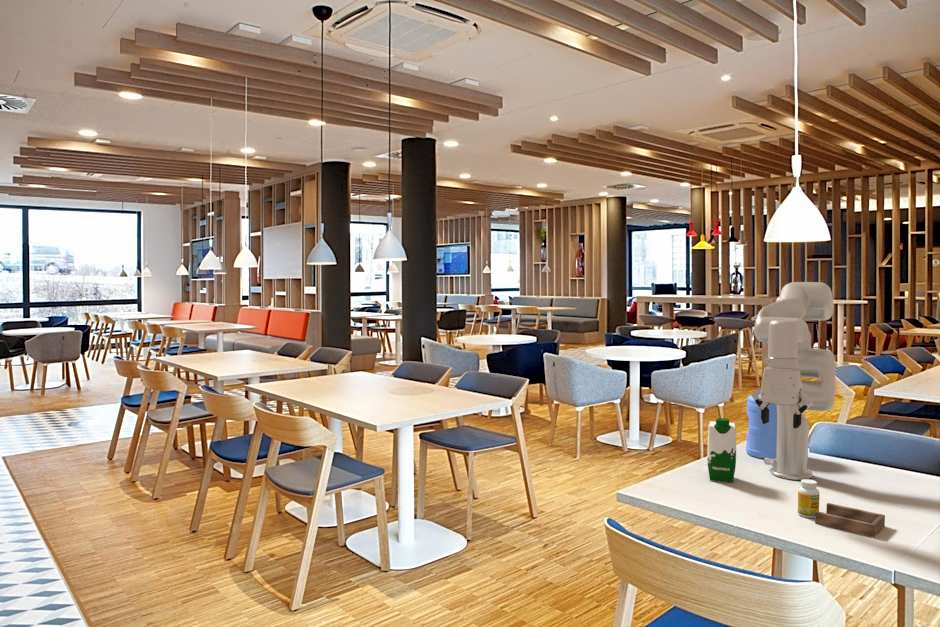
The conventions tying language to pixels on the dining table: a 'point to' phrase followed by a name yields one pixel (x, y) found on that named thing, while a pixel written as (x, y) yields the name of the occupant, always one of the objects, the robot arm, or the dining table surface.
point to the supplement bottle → (808, 498)
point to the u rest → (851, 519)
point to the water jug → (761, 431)
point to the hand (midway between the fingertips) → (780, 425)
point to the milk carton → (721, 450)
